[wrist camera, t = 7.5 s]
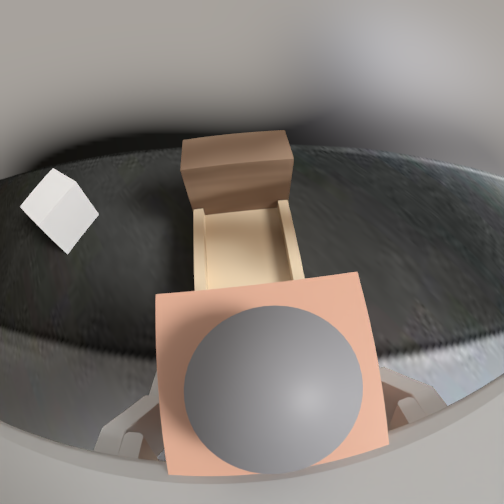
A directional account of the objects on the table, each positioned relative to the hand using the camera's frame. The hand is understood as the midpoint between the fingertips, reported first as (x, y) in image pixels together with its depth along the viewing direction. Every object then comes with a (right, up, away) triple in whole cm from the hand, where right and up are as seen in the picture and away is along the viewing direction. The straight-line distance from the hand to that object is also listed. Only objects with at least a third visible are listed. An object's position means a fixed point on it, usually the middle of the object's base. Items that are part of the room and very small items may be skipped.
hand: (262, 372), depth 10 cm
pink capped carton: (0, -3, +5) cm, 6 cm away
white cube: (-18, +7, +14) cm, 24 cm away
